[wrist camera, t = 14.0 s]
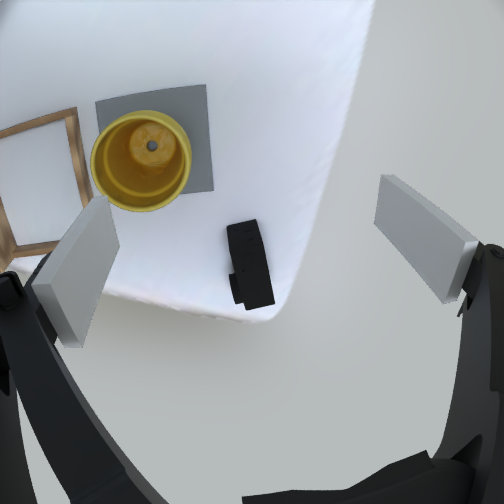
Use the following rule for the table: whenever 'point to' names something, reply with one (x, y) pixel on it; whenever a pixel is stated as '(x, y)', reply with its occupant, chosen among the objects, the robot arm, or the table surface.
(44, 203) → the table surface
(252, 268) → the digital camera
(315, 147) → the table surface
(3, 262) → the cold frame
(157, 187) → the plant pot
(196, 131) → the mat
